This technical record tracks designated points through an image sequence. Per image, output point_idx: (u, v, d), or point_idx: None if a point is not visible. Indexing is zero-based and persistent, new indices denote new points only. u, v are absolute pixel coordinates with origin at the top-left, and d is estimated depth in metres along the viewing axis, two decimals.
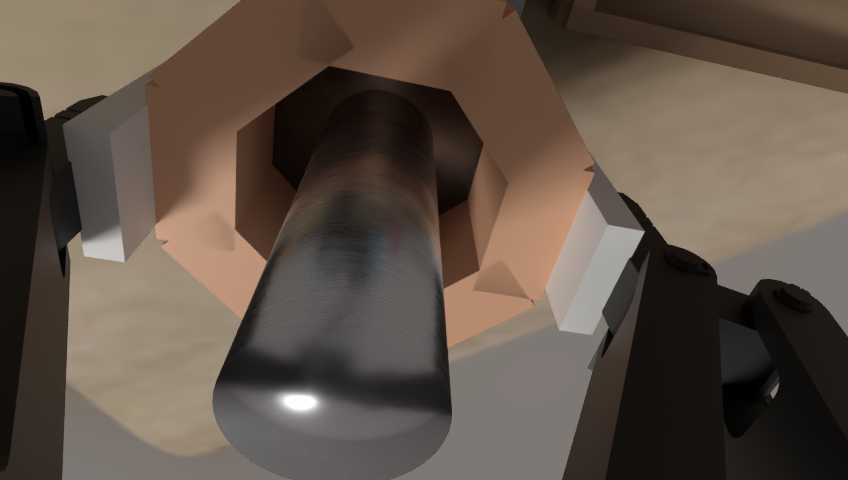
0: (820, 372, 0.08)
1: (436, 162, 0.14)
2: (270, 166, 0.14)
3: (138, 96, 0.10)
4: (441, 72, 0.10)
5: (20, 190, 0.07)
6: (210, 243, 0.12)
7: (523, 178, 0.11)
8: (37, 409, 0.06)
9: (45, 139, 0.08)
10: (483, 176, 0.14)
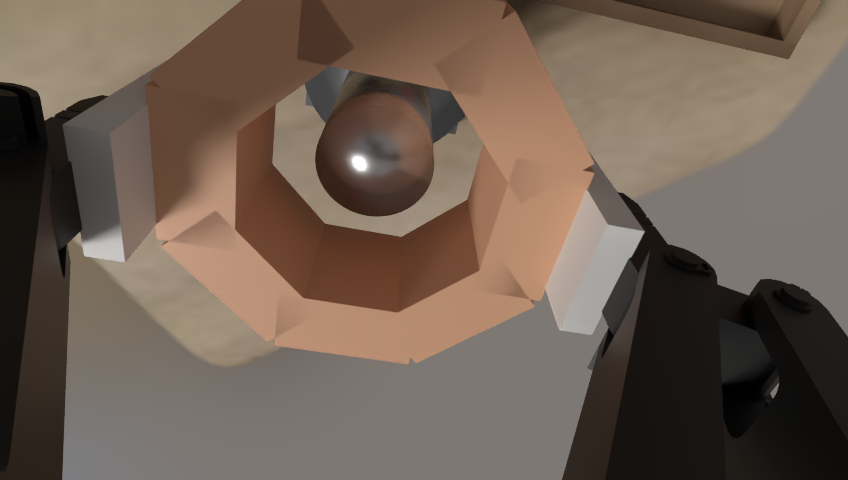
0: (820, 372, 0.08)
1: None
2: (270, 166, 0.14)
3: (138, 96, 0.10)
4: (441, 72, 0.10)
5: (20, 190, 0.07)
6: (210, 243, 0.12)
7: (523, 178, 0.11)
8: (37, 409, 0.06)
9: (45, 139, 0.08)
10: (483, 176, 0.14)
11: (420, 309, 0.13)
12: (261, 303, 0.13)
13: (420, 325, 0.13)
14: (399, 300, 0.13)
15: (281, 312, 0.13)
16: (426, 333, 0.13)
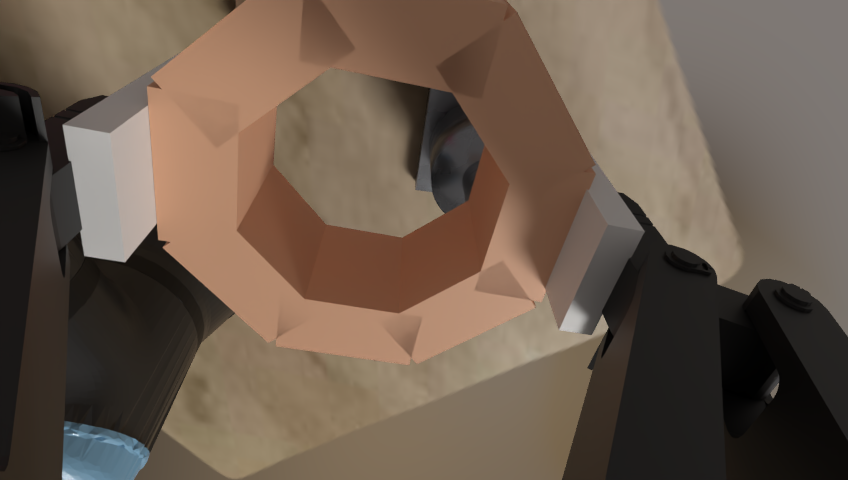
0: (820, 372, 0.08)
1: None
2: (271, 167, 0.14)
3: (138, 96, 0.10)
4: (442, 74, 0.10)
5: (20, 190, 0.07)
6: (212, 244, 0.12)
7: (524, 179, 0.11)
8: (37, 409, 0.06)
9: (45, 139, 0.08)
10: (484, 177, 0.14)
11: (421, 310, 0.13)
12: (263, 304, 0.13)
13: (421, 326, 0.13)
14: (401, 301, 0.13)
15: (282, 313, 0.13)
16: (427, 334, 0.13)
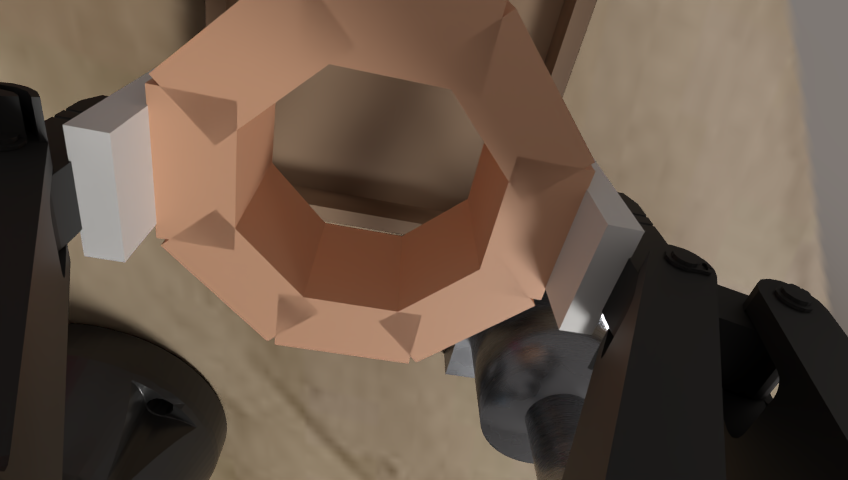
0: (820, 372, 0.08)
1: (575, 392, 0.23)
2: (270, 165, 0.14)
3: (138, 96, 0.10)
4: (441, 70, 0.10)
5: (20, 190, 0.07)
6: (210, 242, 0.12)
7: (523, 177, 0.11)
8: (37, 409, 0.06)
9: (45, 139, 0.08)
10: (483, 175, 0.13)
11: (420, 308, 0.13)
12: (261, 302, 0.13)
13: (420, 324, 0.13)
14: (400, 300, 0.13)
15: (281, 311, 0.13)
16: (426, 332, 0.13)
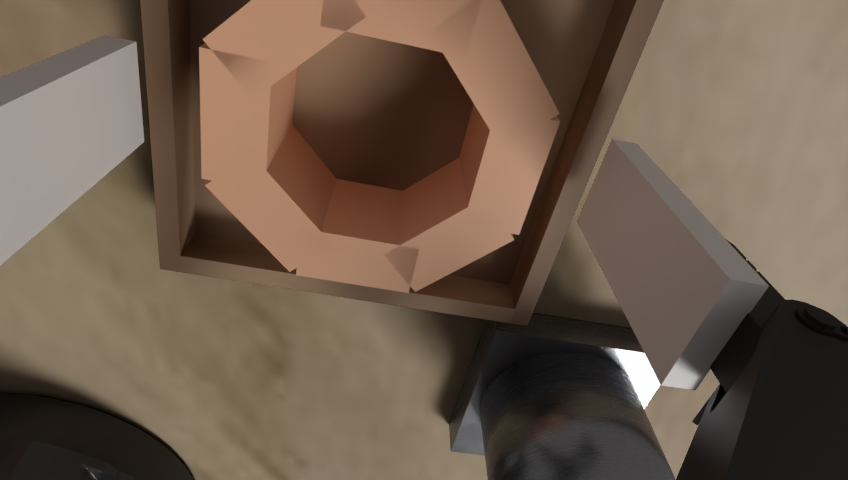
0: None
1: None
2: (291, 126, 0.17)
3: None
4: (434, 37, 0.12)
5: None
6: (245, 182, 0.14)
7: (502, 126, 0.13)
8: None
9: None
10: (471, 133, 0.16)
11: (418, 242, 0.15)
12: (286, 236, 0.15)
13: (418, 257, 0.16)
14: (401, 237, 0.16)
15: (302, 245, 0.15)
16: (424, 264, 0.16)
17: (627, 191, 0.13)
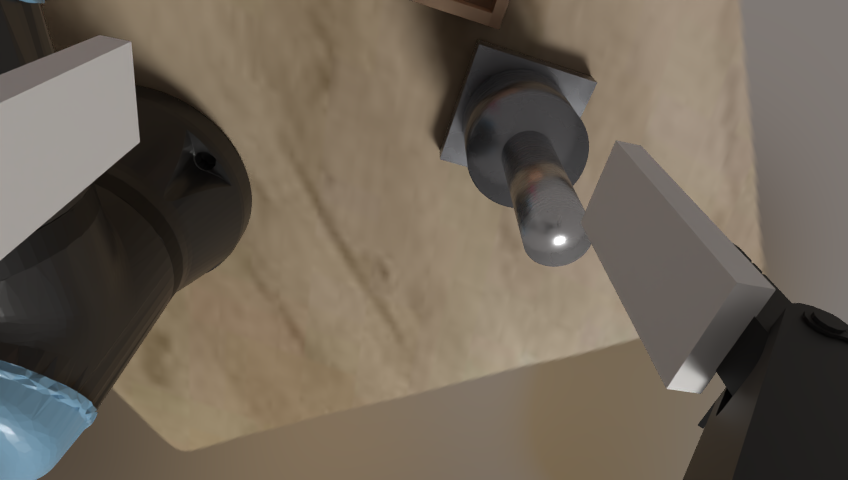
0: None
1: (541, 130, 0.29)
2: None
3: None
4: None
5: None
6: None
7: None
8: None
9: None
10: None
11: None
12: None
13: None
14: None
15: None
16: None
17: (631, 193, 0.13)
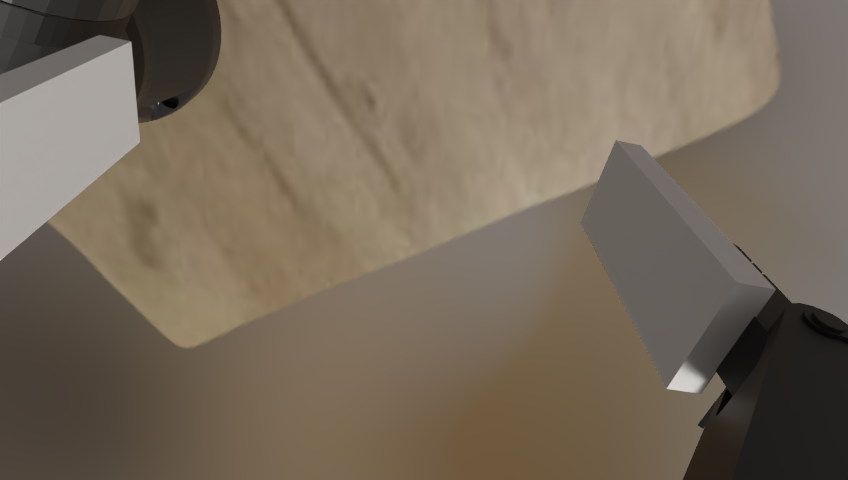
0: None
1: None
2: None
3: None
4: None
5: None
6: None
7: None
8: None
9: None
10: None
11: None
12: None
13: None
14: None
15: None
16: None
17: (631, 193, 0.13)
